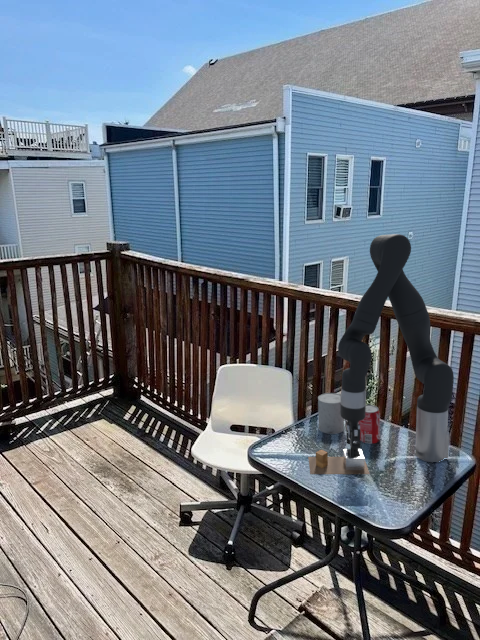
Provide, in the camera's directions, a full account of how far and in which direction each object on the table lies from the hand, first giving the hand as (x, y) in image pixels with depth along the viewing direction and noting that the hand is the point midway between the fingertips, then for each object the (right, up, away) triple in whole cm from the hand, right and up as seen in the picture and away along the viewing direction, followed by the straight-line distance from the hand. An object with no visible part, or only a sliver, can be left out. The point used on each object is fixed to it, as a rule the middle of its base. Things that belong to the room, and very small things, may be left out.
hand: (351, 450), depth 138 cm
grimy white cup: (-1, 0, +29) cm, 29 cm away
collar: (+1, -5, +1) cm, 5 cm away
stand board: (-4, -7, +2) cm, 8 cm away
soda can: (+10, -2, +17) cm, 20 cm away
